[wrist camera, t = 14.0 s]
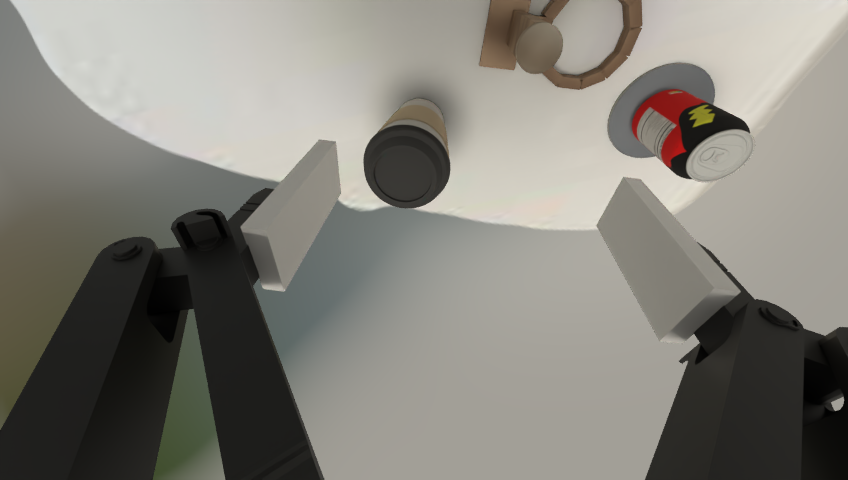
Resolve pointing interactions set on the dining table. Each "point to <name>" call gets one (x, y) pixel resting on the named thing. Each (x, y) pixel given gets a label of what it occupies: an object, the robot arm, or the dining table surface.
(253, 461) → the robot arm
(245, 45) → the dining table surface
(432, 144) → the coffee cup
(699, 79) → the slate coaster
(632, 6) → the ring holder
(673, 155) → the beverage can
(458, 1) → the dining table surface
